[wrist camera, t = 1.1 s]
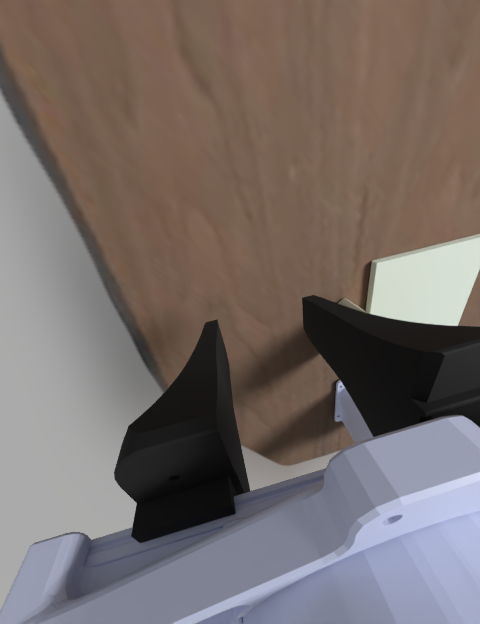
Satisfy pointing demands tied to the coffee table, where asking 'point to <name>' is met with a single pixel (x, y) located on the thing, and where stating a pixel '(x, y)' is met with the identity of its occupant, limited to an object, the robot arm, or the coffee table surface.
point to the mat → (425, 282)
